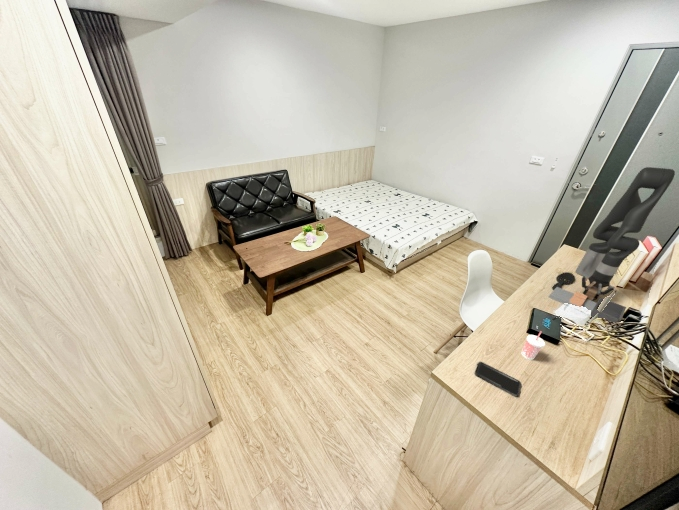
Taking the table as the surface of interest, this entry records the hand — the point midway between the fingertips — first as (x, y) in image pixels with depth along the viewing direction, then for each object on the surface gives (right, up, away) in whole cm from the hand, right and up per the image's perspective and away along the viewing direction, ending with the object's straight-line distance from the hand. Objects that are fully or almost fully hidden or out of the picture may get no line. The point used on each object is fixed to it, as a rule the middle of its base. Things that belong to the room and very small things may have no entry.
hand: (589, 296), depth 145 cm
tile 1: (-10, 0, -4) cm, 11 cm away
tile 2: (-14, -2, -8) cm, 16 cm away
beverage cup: (-61, -19, -36) cm, 73 cm away
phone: (-80, -25, -46) cm, 95 cm away
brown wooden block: (0, -1, 0) cm, 1 cm away
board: (-13, -2, -4) cm, 14 cm away
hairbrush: (-6, +6, +12) cm, 14 cm away
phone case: (-29, -12, -21) cm, 38 cm away
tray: (-5, -8, -13) cm, 16 cm away
